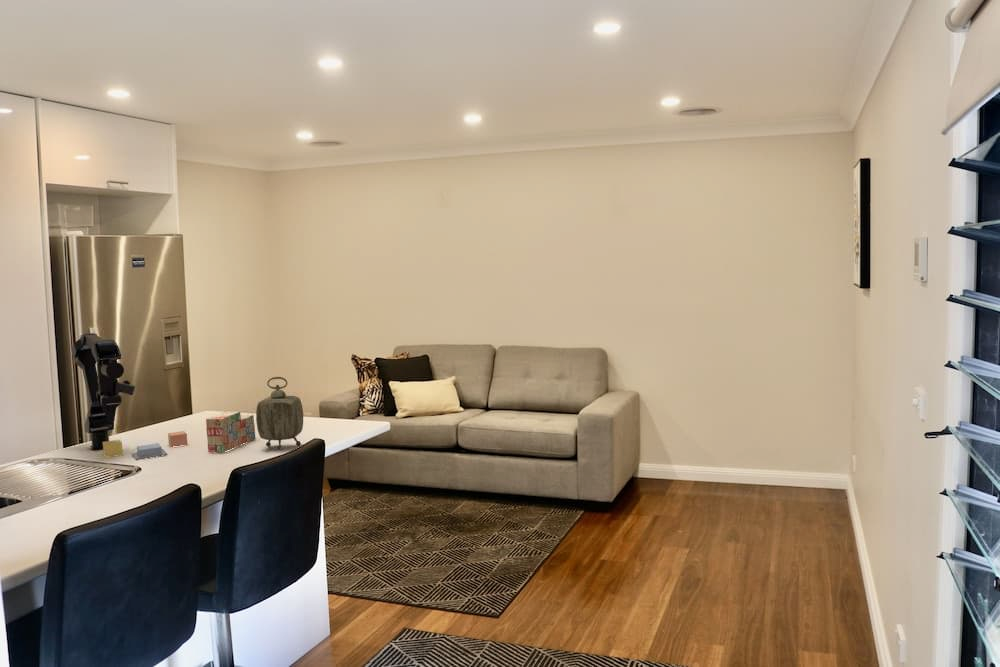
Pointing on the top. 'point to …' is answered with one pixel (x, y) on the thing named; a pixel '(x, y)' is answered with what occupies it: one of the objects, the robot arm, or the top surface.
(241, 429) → the stack of blocks
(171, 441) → the terracotta brick
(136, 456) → the baseplate
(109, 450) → the mustard brick
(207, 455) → the top surface
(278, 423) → the tabletop clock
